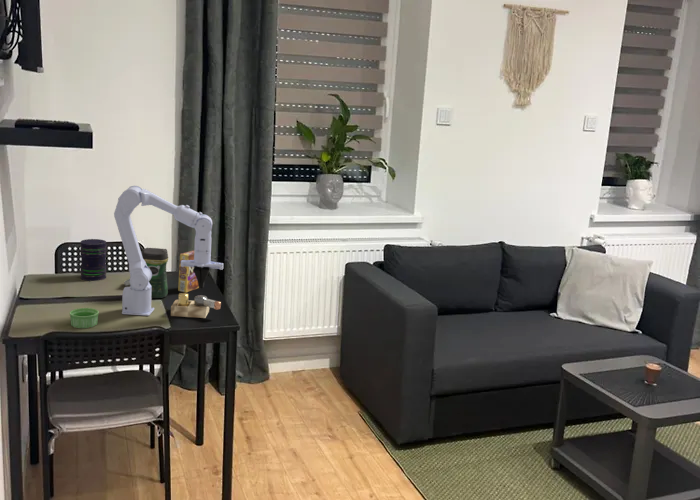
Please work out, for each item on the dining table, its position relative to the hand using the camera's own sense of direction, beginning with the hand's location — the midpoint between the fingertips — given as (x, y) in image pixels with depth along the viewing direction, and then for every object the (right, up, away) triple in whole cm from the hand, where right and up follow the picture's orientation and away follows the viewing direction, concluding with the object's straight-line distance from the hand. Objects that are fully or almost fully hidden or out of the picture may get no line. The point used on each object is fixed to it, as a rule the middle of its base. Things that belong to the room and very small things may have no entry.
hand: (201, 287), depth 241 cm
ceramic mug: (-31, -1, +29) cm, 43 cm away
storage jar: (-51, +2, +35) cm, 63 cm away
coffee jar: (-22, -4, +18) cm, 29 cm away
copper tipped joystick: (+2, -7, 0) cm, 7 cm away
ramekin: (-35, -11, -17) cm, 40 cm away
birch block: (-4, -9, +2) cm, 10 cm away
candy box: (-11, -3, +30) cm, 32 cm away
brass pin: (-7, -9, +1) cm, 12 cm away
